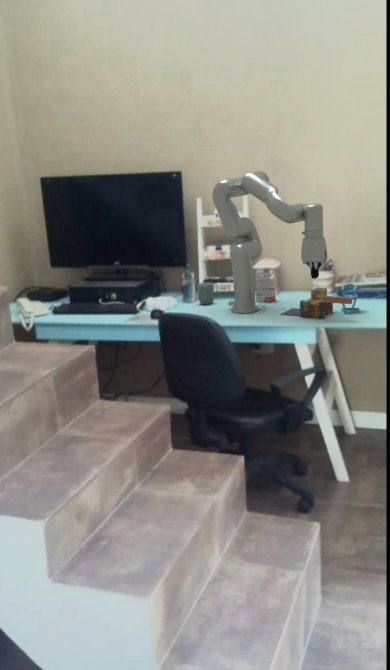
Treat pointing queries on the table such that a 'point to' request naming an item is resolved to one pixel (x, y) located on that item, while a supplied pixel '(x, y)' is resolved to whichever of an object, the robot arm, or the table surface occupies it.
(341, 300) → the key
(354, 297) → the chair
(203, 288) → the cup
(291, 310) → the mat
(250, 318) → the table surface
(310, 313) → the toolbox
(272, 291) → the ink cartridge box
